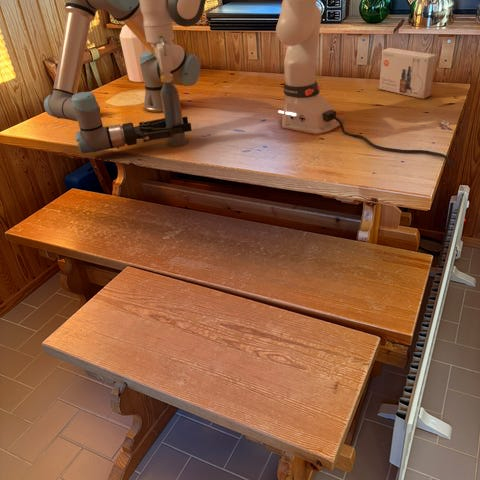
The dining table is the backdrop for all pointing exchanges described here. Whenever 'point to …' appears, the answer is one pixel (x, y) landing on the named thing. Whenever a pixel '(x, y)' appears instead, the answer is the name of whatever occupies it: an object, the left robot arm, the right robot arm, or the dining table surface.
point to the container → (132, 53)
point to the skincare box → (407, 72)
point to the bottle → (172, 111)
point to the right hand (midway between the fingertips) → (166, 78)
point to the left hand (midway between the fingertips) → (189, 123)
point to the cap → (164, 78)
